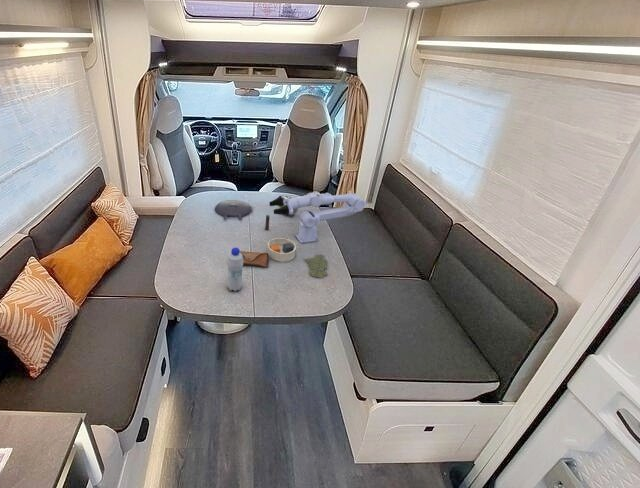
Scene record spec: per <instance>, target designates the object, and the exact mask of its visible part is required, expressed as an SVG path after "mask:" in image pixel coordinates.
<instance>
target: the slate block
mask: <svg viewBox="0 0 640 488" xmlns="http://www.w3.org/2000/svg"><path fill="white" fill-rule="evenodd" d="M292 251H293V246H292V244H291V243H285V244H283V252H284V253H289V252H292Z"/></svg>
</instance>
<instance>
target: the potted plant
mask: <svg viewBox="0 0 640 488" xmlns="http://www.w3.org/2000/svg"><path fill="white" fill-rule="evenodd" d="M280 196H281V197H282V196H285V197H286V198H289V199H291V198H292V197H290V196H289V195H287V194H285V195H284V194H282V195H280ZM283 206H285V205H284V203H283ZM283 206H278V208H281V207H283ZM298 210H299V208H297V209H293V214H288V217H289V216H292V217H293V216H294V215H295V214H296V213H297V211H298Z"/></svg>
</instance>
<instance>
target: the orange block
mask: <svg viewBox="0 0 640 488" xmlns="http://www.w3.org/2000/svg"><path fill="white" fill-rule="evenodd" d="M270 248H271V249H272V250H273V251H276V252H279V253H280V248H279V247H278V245H271V246H270Z"/></svg>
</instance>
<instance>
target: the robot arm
mask: <svg viewBox="0 0 640 488" xmlns="http://www.w3.org/2000/svg"><path fill="white" fill-rule="evenodd" d="M281 196H282V197H281ZM285 196H286V195H284V196H283V195H279V196H278V197H276V198H275V199H272V200H271V201H269V206H270V207H276V206H277V207H278V208H275V209H273V214H274V215H281V216H286V217H287V216H288V217H289V215H288V214H293V209H297V208H298V209H302V208H306V207H313V208H318V207H319V206H324V205H325V206H326V205H331V204H332V203H344V204H343V206H340V207H335V208H328V209H324V210H317V211H316V210H313V209H310V210H309V209H302V210H300V212H299V213H298V219H300V220H299V224H298V233H297V234H295V237H296V238H297V240H298V241H299V242H300V243H301V244H303V243H311V242H317V235H318V225H319V223H320V222H324V221H330V220H335V219H340V218H347V217H350V216H352V215H354V214H356V213H359V212H362V211H363V210H364V209H365V207H367V206H366V205H367V202H366V200H364V199H363V198H361V197H360V196H359V195H358V194H357V193H355V192H352V193H351V192H348V193H344V194H335V195H334V194H333V195H332V194H331V193H329V192H325V193H319V192H318V193H315V192H308V193H307V194H305V195H301V196H297V197H290V198H291V199H289V197H288V198H286V197H285ZM283 203H284V205H285V206H283ZM279 206H283V207H281V208H280V207H279ZM298 209H297V210H298Z"/></svg>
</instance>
